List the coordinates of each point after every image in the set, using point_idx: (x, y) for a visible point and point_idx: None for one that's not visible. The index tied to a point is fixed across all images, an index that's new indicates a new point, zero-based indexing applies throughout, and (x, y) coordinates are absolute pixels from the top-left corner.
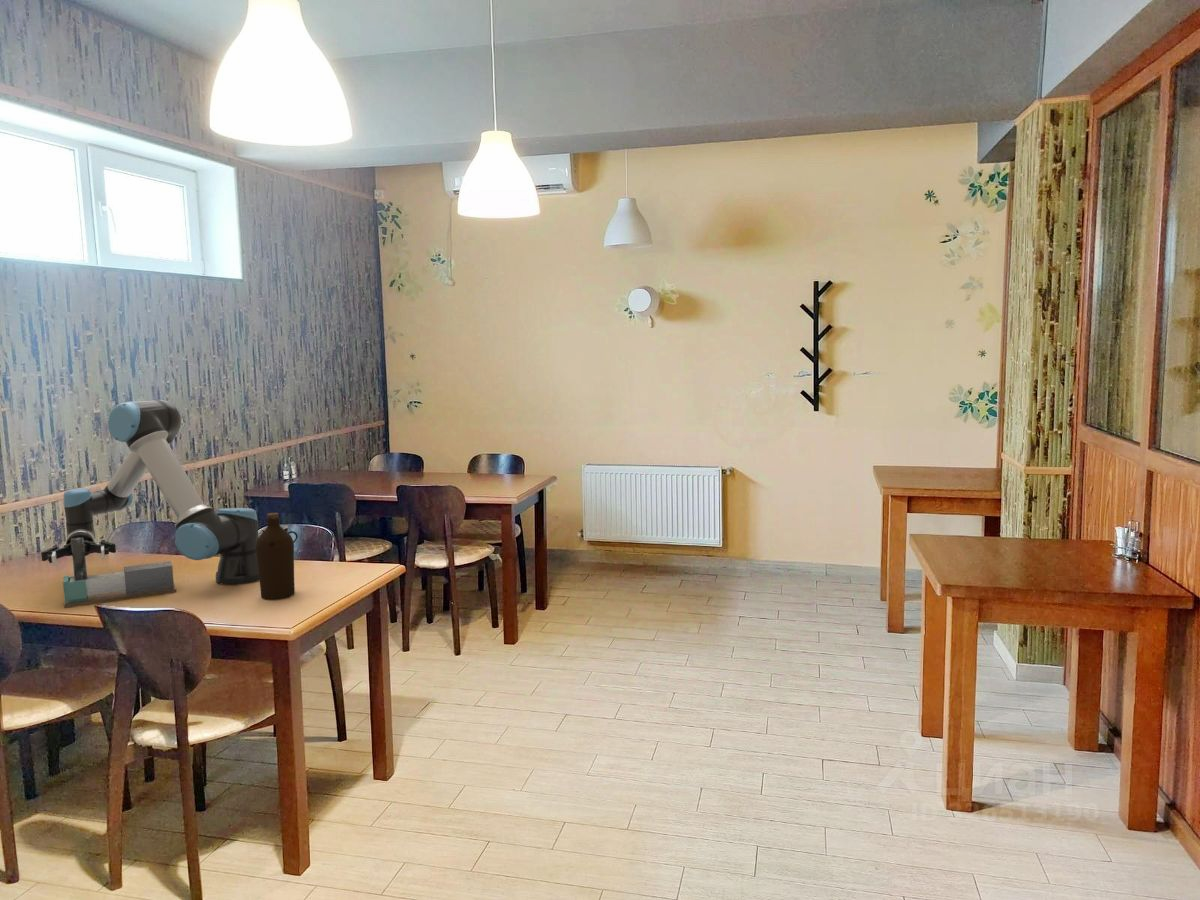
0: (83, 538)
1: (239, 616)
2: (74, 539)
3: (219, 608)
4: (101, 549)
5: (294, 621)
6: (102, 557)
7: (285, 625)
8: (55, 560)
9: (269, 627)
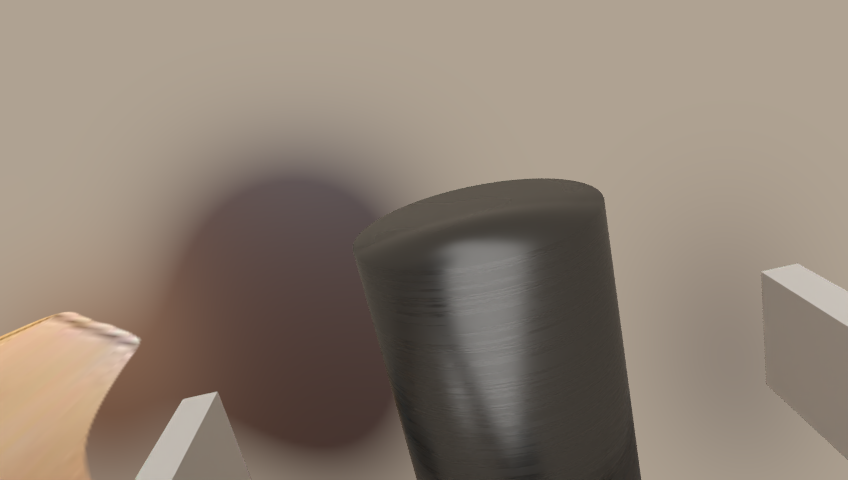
0: (358, 248)
1: (52, 379)
2: (509, 187)
3: (19, 449)
4: (188, 438)
5: (12, 340)
6: (239, 474)
7: (46, 326)
8: (815, 385)
9: (75, 321)
